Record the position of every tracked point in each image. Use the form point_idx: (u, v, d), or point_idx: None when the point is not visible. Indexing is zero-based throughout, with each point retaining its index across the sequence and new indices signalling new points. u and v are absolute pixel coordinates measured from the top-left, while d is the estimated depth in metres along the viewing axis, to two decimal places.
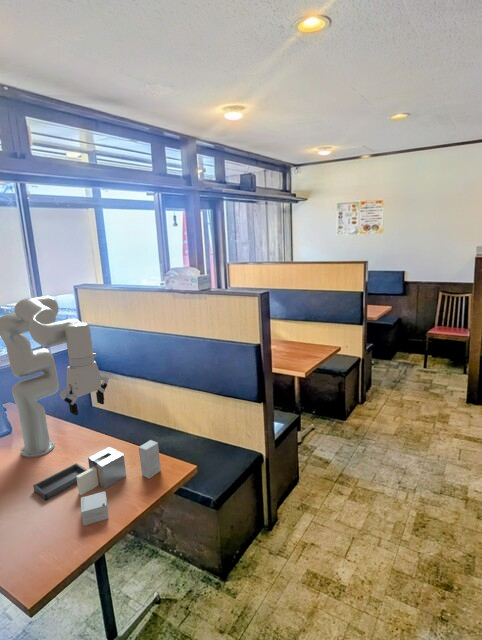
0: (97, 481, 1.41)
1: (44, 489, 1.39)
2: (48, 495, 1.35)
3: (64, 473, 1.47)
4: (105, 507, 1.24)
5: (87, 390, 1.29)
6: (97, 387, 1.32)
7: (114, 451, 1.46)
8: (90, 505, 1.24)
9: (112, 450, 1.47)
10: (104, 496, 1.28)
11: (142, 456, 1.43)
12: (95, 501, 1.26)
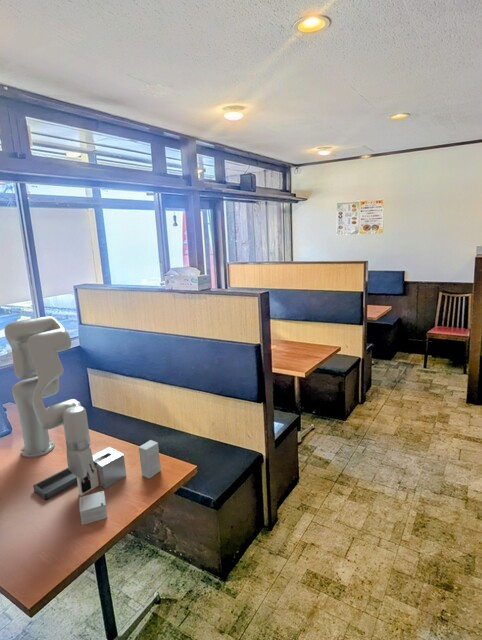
0: (97, 481, 1.41)
1: (44, 489, 1.39)
2: (48, 495, 1.35)
3: (64, 473, 1.47)
4: (104, 507, 1.24)
5: None
6: None
7: (114, 451, 1.46)
8: (88, 505, 1.24)
9: (112, 450, 1.47)
10: (103, 496, 1.28)
11: (142, 456, 1.43)
12: (93, 500, 1.26)
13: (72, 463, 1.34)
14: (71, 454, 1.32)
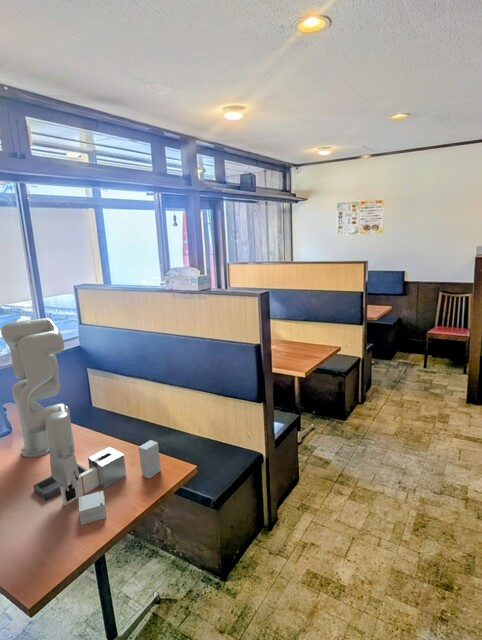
0: (82, 490, 1.36)
1: (44, 489, 1.39)
2: (48, 495, 1.35)
3: None
4: (103, 506, 1.24)
5: None
6: None
7: (114, 451, 1.46)
8: (88, 504, 1.24)
9: (112, 450, 1.47)
10: (102, 495, 1.28)
11: (142, 456, 1.43)
12: (93, 500, 1.26)
13: (56, 471, 1.29)
14: (55, 461, 1.28)
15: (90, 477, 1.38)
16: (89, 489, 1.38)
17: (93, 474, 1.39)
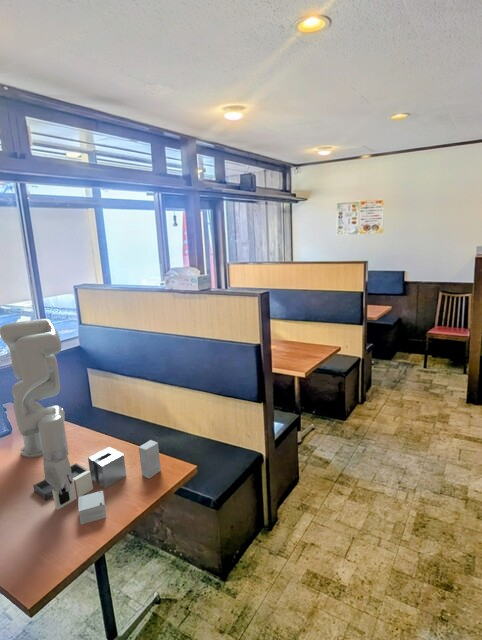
0: (75, 494, 1.34)
1: (44, 489, 1.39)
2: (48, 495, 1.35)
3: None
4: (102, 506, 1.24)
5: None
6: None
7: (114, 451, 1.46)
8: (87, 504, 1.24)
9: (112, 450, 1.47)
10: (101, 495, 1.28)
11: (142, 456, 1.43)
12: (92, 500, 1.26)
13: (49, 474, 1.27)
14: (48, 464, 1.26)
15: (83, 481, 1.36)
16: (82, 493, 1.36)
17: (86, 478, 1.37)
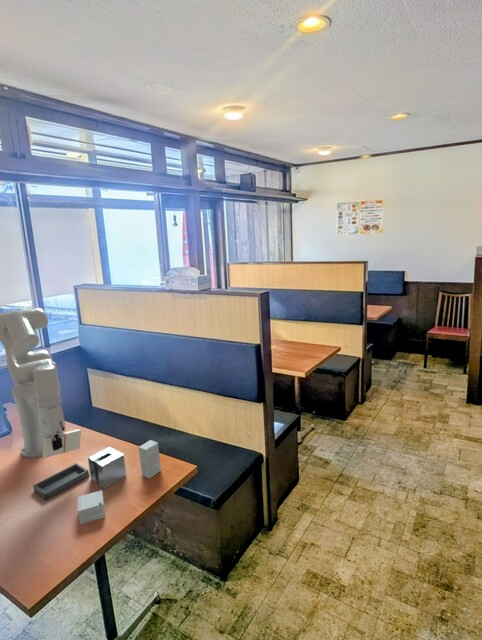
0: (63, 448, 1.41)
1: (44, 489, 1.39)
2: (48, 495, 1.35)
3: (64, 473, 1.47)
4: (102, 506, 1.24)
5: None
6: None
7: (114, 451, 1.46)
8: (87, 504, 1.24)
9: (112, 450, 1.47)
10: (101, 495, 1.28)
11: (142, 456, 1.43)
12: (91, 500, 1.26)
13: (43, 421, 1.35)
14: (42, 411, 1.34)
15: (73, 437, 1.43)
16: (69, 449, 1.43)
17: (76, 435, 1.44)
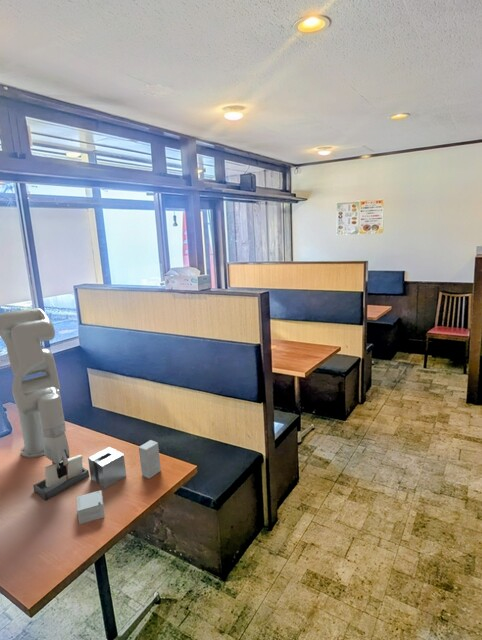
0: (65, 475, 1.42)
1: (44, 489, 1.39)
2: (48, 495, 1.35)
3: None
4: (101, 506, 1.24)
5: None
6: None
7: (114, 451, 1.46)
8: (86, 504, 1.24)
9: (112, 450, 1.47)
10: (100, 495, 1.28)
11: (142, 456, 1.43)
12: (91, 499, 1.26)
13: (47, 449, 1.37)
14: (47, 440, 1.36)
15: (75, 464, 1.45)
16: (72, 475, 1.44)
17: (78, 461, 1.46)
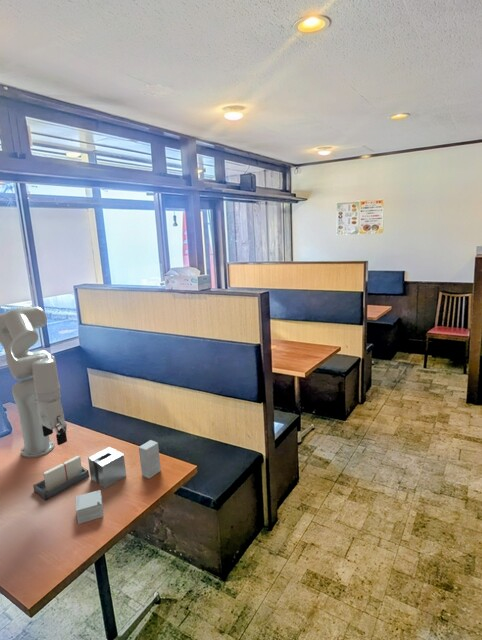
0: (65, 478, 1.42)
1: (44, 489, 1.39)
2: (48, 495, 1.35)
3: None
4: (100, 505, 1.24)
5: None
6: None
7: (114, 451, 1.46)
8: (85, 503, 1.25)
9: (112, 450, 1.47)
10: (99, 495, 1.29)
11: (142, 456, 1.43)
12: (90, 499, 1.26)
13: (42, 415, 1.35)
14: (41, 405, 1.33)
15: (73, 465, 1.44)
16: (72, 477, 1.45)
17: (76, 462, 1.45)
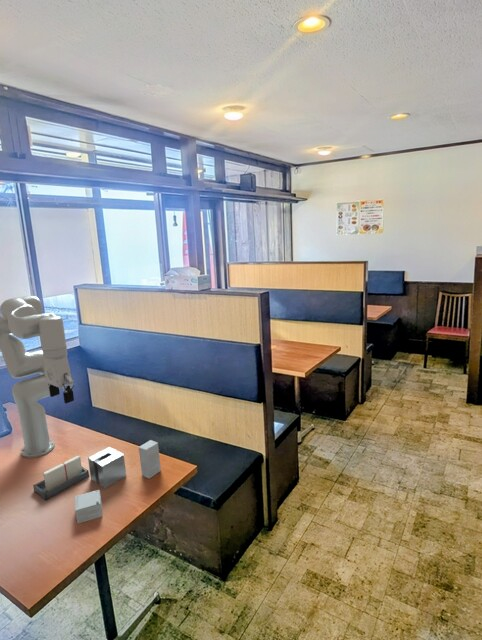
0: (65, 478, 1.42)
1: (44, 489, 1.39)
2: (48, 495, 1.35)
3: None
4: (99, 505, 1.24)
5: None
6: None
7: (114, 451, 1.46)
8: (84, 503, 1.25)
9: (112, 450, 1.47)
10: (98, 494, 1.29)
11: (142, 456, 1.43)
12: (89, 499, 1.27)
13: (49, 373, 1.34)
14: (48, 363, 1.33)
15: (73, 465, 1.44)
16: (72, 477, 1.45)
17: (76, 462, 1.45)
